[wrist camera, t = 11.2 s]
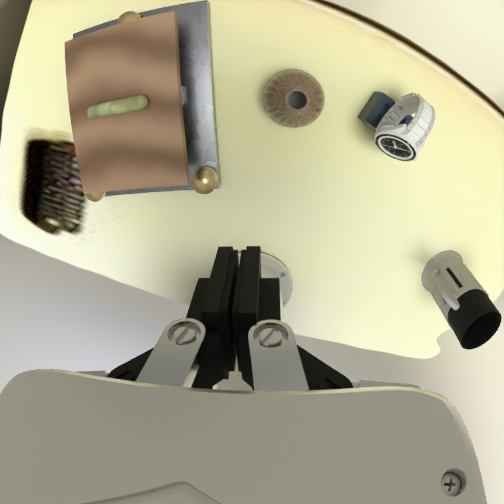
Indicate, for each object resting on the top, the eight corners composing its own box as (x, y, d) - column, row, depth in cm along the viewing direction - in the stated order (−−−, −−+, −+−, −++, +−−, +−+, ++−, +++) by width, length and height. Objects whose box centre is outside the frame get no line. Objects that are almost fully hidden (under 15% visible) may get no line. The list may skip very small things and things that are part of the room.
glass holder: (439, 298, 49) (472, 358, 36) (392, 265, 46) (426, 331, 33) (470, 264, 45) (511, 319, 32) (426, 224, 42) (474, 281, 29)
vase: (279, 61, 32) (282, 54, 25) (328, 88, 33) (344, 89, 26) (253, 107, 35) (249, 113, 28) (302, 133, 37) (311, 146, 29)
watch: (349, 129, 36) (377, 146, 26) (381, 81, 32) (419, 83, 23) (382, 153, 37) (416, 177, 28) (412, 107, 33) (455, 119, 24)
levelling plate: (190, 180, 35) (183, 190, 32) (90, 189, 36) (77, 199, 33) (178, 13, 25) (169, 7, 22) (71, 42, 26) (56, 41, 23)
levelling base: (220, 184, 41) (213, 199, 36) (98, 193, 42) (80, 208, 37) (209, 3, 28) (200, -9, 23) (78, 34, 29) (56, 32, 25)
